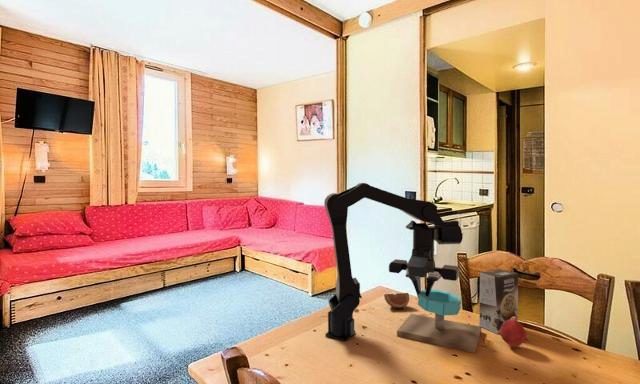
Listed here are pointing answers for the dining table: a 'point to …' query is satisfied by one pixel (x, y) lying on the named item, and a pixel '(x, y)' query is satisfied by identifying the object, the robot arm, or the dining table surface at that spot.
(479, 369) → the dining table surface
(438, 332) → the hook board
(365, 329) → the dining table surface
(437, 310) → the teal octagonal ring
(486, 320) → the coffee box
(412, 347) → the dining table surface
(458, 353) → the dining table surface
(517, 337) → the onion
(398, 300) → the fruit slice
